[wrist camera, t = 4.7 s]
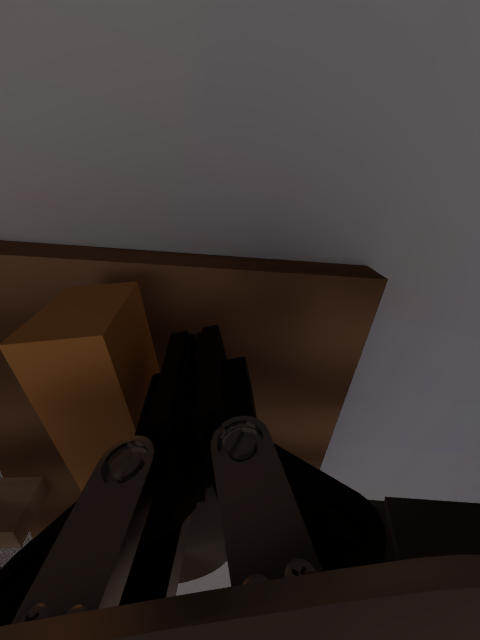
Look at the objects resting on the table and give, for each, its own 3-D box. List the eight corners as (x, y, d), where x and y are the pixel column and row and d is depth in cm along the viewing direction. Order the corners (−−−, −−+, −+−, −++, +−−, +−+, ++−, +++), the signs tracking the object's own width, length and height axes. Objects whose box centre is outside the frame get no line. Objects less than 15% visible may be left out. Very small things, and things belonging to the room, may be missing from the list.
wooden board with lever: (287, 518, 26) (302, 589, 22) (44, 528, 24) (6, 611, 19) (366, 266, 15) (432, 308, 10) (-83, 234, 12) (-247, 272, 8)
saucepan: (234, 514, 17) (238, 590, 14) (118, 528, 17) (98, 610, 14) (203, 275, 10) (199, 326, 7) (-3, 293, 10) (-106, 355, 6)
